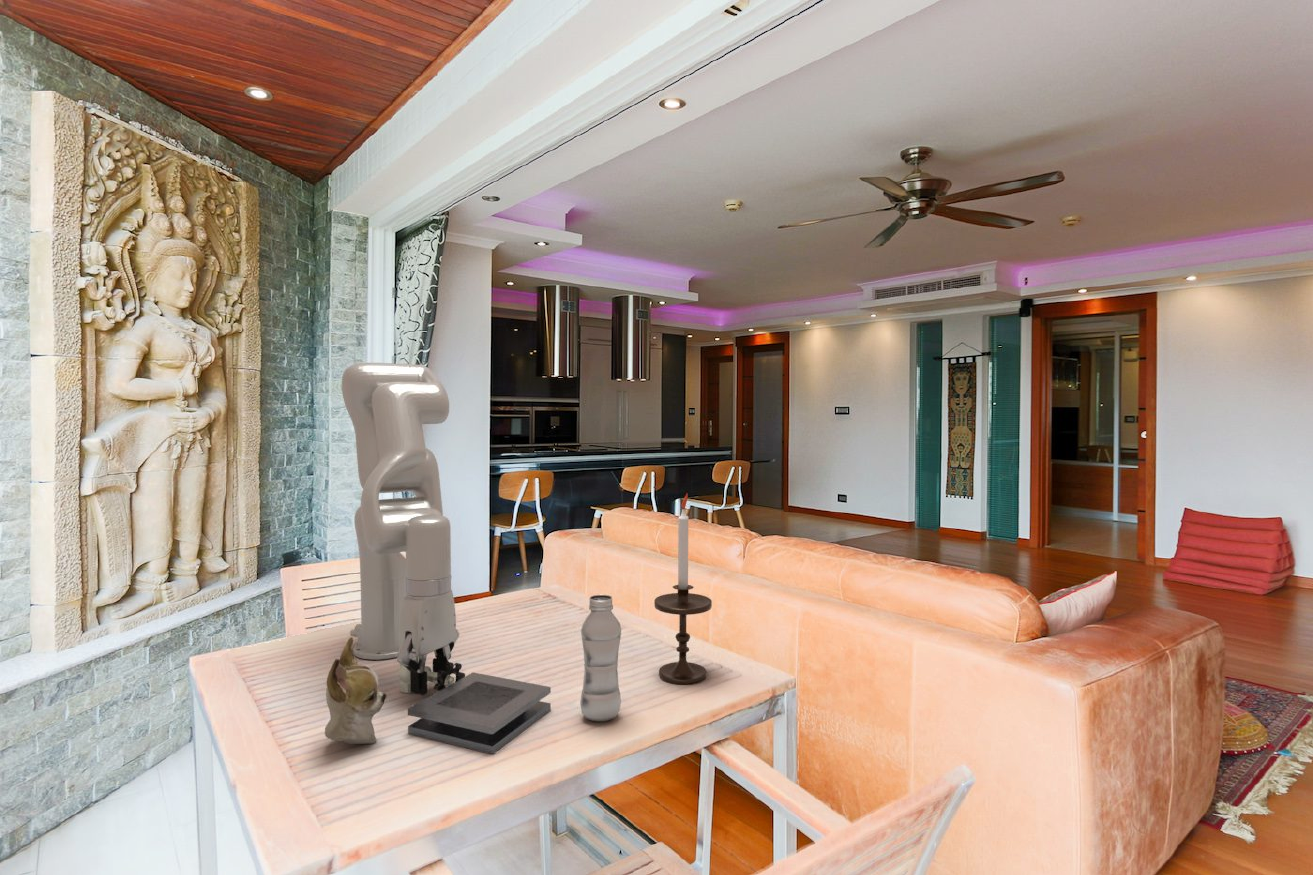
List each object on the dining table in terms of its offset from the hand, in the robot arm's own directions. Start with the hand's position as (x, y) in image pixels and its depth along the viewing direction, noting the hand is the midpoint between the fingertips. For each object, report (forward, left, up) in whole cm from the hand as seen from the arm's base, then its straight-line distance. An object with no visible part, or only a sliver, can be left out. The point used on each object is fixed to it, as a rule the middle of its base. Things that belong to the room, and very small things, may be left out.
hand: (430, 686), depth 122 cm
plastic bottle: (+32, +4, -2) cm, 32 cm away
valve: (-1, 0, -2) cm, 2 cm away
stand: (+15, -5, -1) cm, 16 cm away
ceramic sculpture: (+2, -19, -2) cm, 19 cm away
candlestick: (+38, +26, -2) cm, 46 cm away
